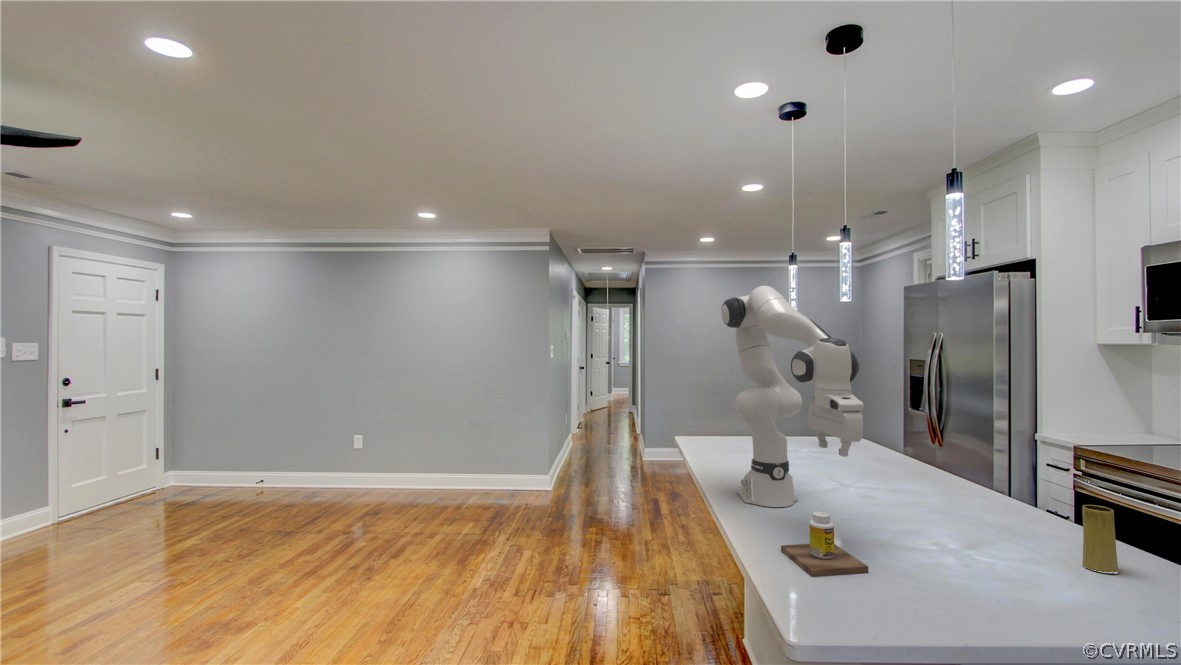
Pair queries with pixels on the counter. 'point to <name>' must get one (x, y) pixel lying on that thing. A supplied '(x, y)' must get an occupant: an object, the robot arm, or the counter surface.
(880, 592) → the counter surface
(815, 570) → the walnut board
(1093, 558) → the vase
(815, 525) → the supplement bottle
